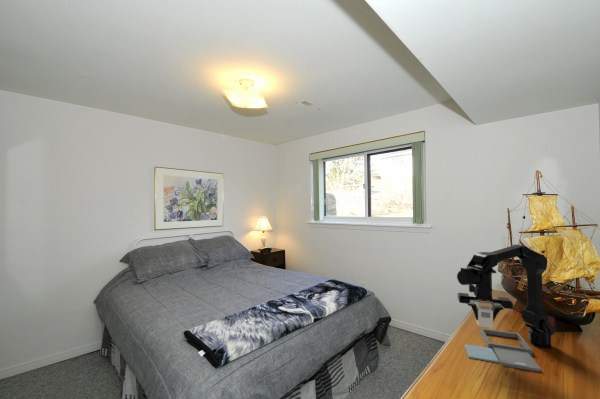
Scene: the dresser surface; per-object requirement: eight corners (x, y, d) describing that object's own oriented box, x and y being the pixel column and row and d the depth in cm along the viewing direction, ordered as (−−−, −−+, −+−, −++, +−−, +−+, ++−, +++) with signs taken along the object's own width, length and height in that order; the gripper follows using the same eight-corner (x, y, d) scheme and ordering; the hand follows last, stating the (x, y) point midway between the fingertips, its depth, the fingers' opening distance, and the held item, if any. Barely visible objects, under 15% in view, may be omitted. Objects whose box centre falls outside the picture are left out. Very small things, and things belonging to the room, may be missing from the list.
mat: (491, 349, 113) (491, 348, 113) (498, 362, 104) (498, 361, 104) (464, 345, 117) (464, 344, 117) (468, 357, 108) (468, 356, 108)
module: (490, 323, 114) (489, 306, 114) (493, 328, 109) (493, 311, 109) (476, 321, 116) (475, 304, 116) (478, 326, 111) (478, 309, 111)
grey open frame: (519, 337, 122) (518, 333, 122) (546, 372, 97) (546, 367, 97) (480, 332, 128) (480, 328, 128) (496, 364, 103) (496, 359, 103)
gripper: (504, 280, 116) (505, 317, 116) (455, 276, 124) (456, 310, 124) (513, 288, 106) (514, 328, 106) (459, 283, 114) (459, 320, 113)
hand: (484, 320), depth 112 cm, fingers closed on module, 5 cm apart
